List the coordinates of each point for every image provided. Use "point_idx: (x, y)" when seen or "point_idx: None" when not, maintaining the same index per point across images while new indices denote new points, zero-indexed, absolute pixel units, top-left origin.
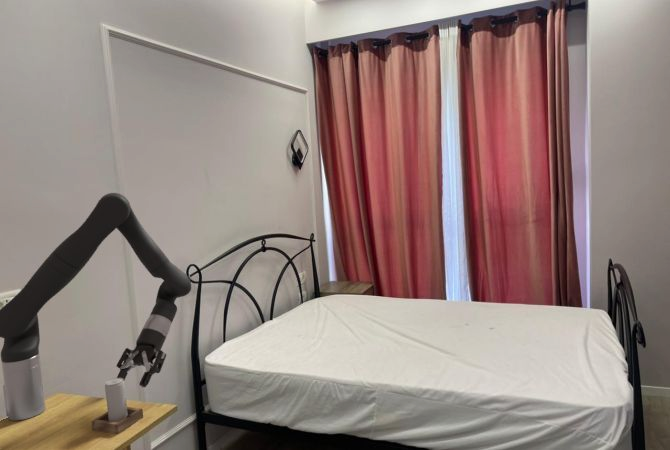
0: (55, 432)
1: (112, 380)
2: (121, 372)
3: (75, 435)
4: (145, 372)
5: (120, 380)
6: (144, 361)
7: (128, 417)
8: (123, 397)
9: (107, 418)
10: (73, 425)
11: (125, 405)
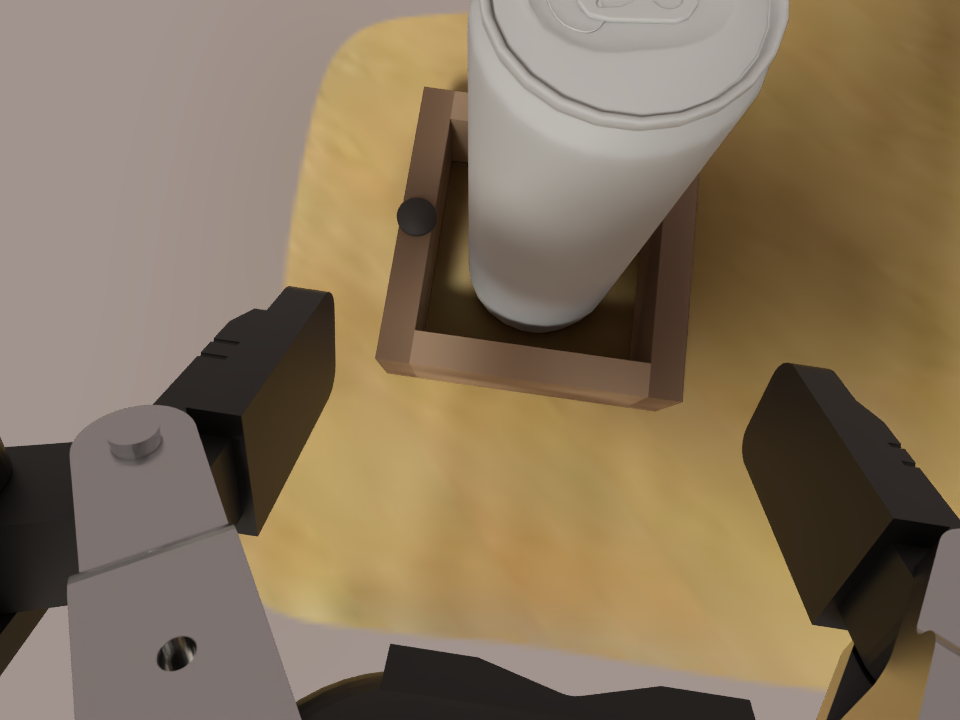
0: (937, 123)
1: (712, 32)
2: (877, 475)
3: None
4: (217, 406)
5: (540, 28)
6: (218, 609)
7: (408, 198)
8: (468, 145)
9: (648, 261)
10: (890, 219)
11: (470, 217)
